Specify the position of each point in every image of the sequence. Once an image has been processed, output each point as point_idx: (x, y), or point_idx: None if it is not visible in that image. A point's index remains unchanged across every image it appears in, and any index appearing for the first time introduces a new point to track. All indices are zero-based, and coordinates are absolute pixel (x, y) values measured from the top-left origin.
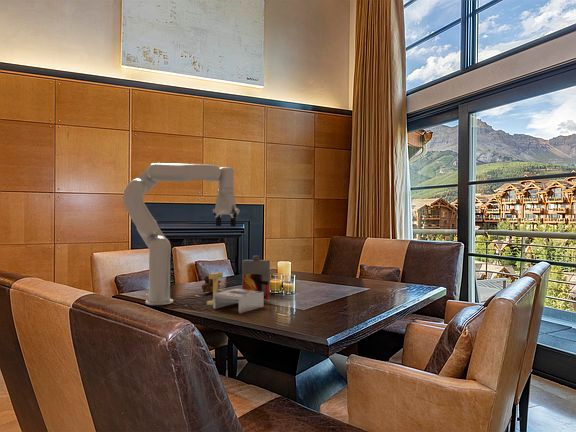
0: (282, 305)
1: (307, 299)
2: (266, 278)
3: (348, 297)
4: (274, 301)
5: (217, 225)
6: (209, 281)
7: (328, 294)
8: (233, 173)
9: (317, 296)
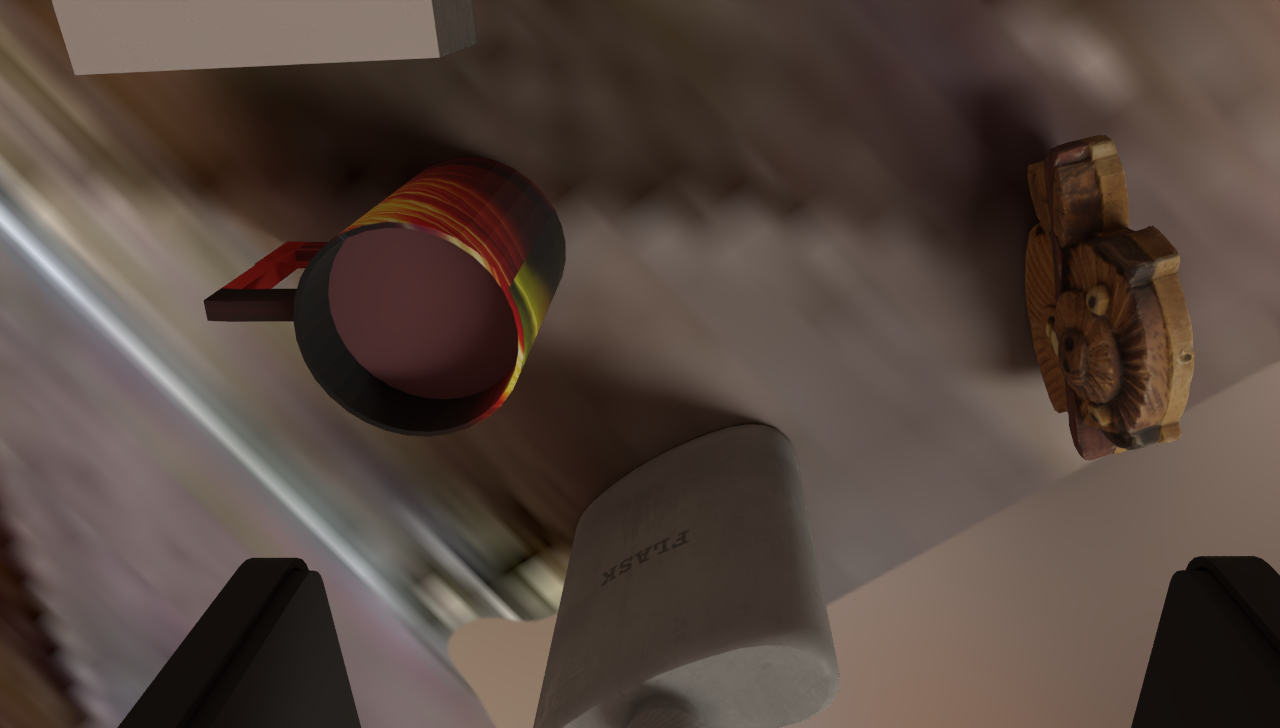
0: (105, 206)
1: (169, 499)
2: (563, 601)
3: (46, 692)
4: None
5: (1183, 585)
6: (1087, 260)
7: None
8: None
9: None
